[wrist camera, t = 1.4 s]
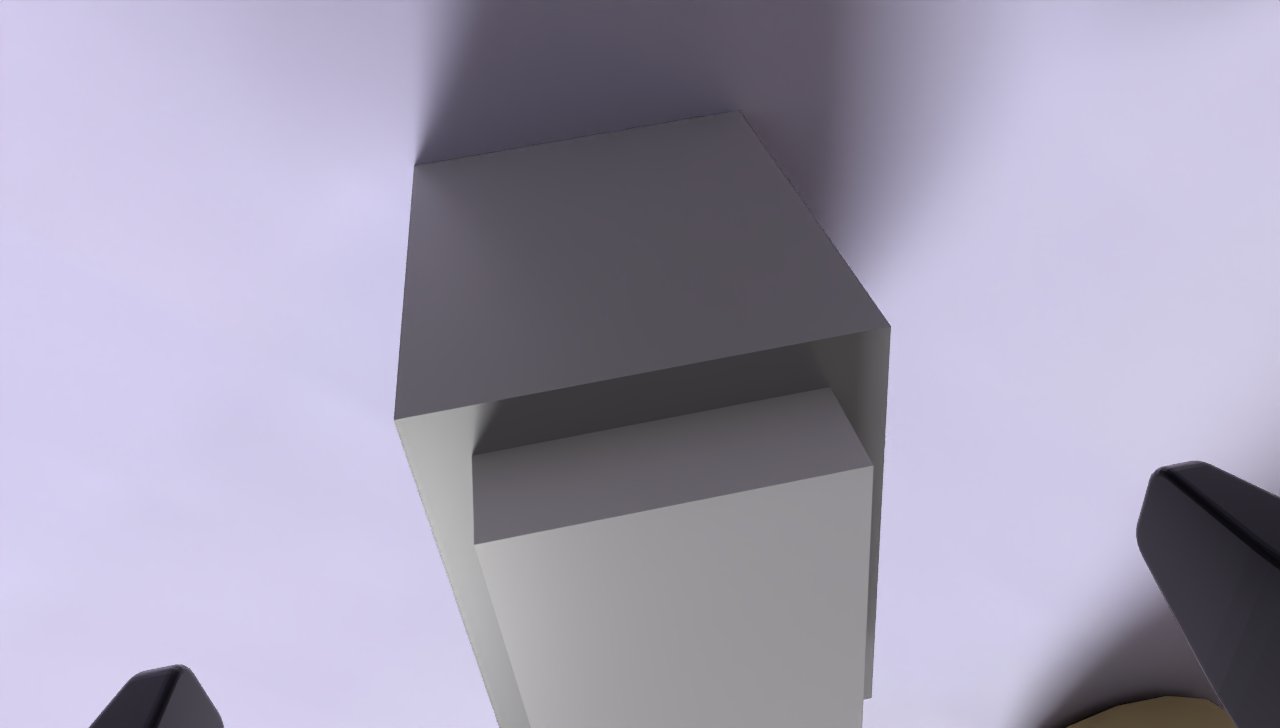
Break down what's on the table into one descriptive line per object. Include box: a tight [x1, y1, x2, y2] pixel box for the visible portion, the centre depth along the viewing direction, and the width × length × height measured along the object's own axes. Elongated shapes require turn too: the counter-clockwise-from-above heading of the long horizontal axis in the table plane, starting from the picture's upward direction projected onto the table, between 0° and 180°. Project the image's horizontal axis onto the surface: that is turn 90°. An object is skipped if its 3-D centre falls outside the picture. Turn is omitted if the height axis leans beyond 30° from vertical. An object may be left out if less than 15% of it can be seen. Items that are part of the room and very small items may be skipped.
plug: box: [394, 110, 891, 728], centre depth 11 cm, size 4×5×6 cm
